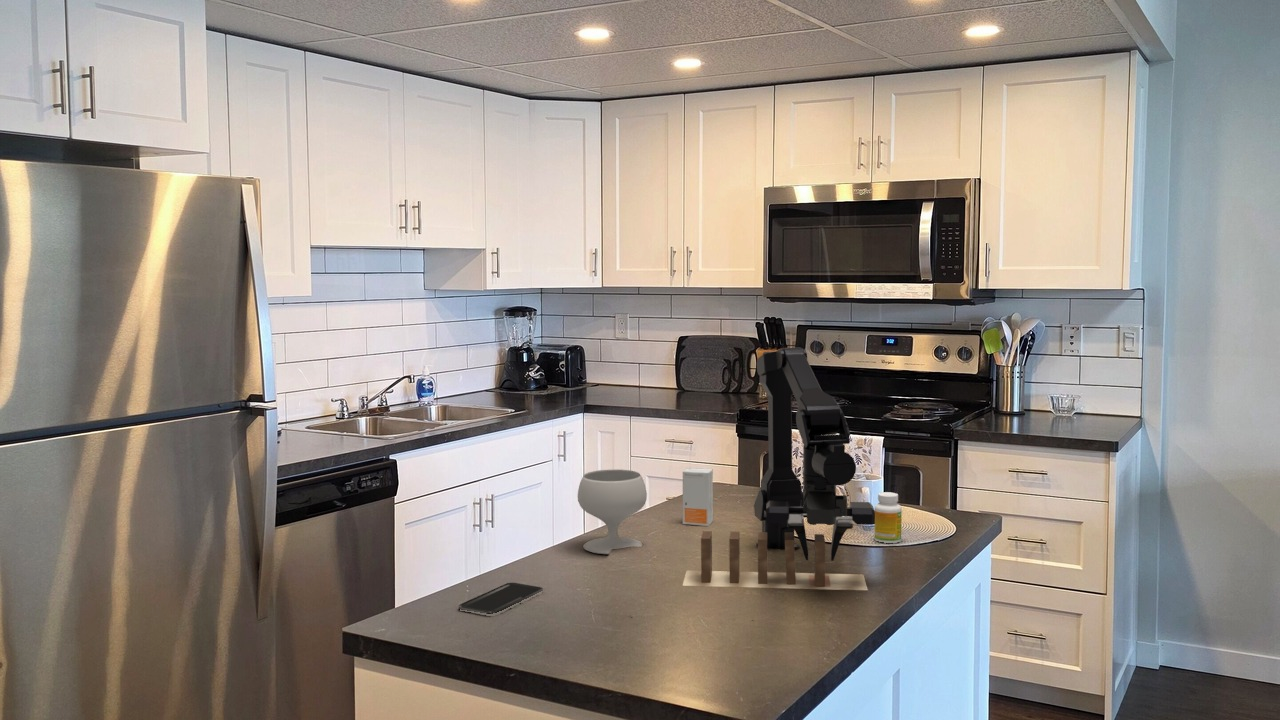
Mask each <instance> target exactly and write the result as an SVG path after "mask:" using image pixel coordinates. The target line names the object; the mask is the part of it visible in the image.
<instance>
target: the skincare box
mask: <svg viewBox="0 0 1280 720" xmlns="http://www.w3.org/2000/svg"><path fill="white" fill-rule="evenodd" d="M713 475H714V470H713V469H712V468H692V467H686V469H684V470H683V471H682V525H692V526H700V527H701V526H704V527H709V526H710V525H711V524H712V523H713V520H714V517H713V516H714V513H713V509H714V508H713V507H714V504H713V503H714V498H713V491H714V490H713V489H714V487H713V486H714V485H713V484H714V482H713V479H714V476H713Z"/></svg>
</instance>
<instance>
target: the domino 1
mask: <svg viewBox="0 0 1280 720" xmlns="http://www.w3.org/2000/svg"><path fill="white" fill-rule="evenodd" d="M712 532H713V531H711V530H708V531H707V530H704V531H703V530H702V534H701V537H700V558H701V559H700V560H701V561H700V562H701V563H700V571H701V583H710V582H711V577H712V571H713V554H712V553H713V541H712V539H713V535H712V534H713V533H712Z"/></svg>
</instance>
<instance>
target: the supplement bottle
mask: <svg viewBox="0 0 1280 720" xmlns="http://www.w3.org/2000/svg"><path fill="white" fill-rule="evenodd" d="M877 500H878V503H876V504H875V506H874V510H875V524H874V534H873V535H874V540H875V541H876V542H877V541H879V542H878V543H880V542H884V543H883V544H886V543H893V544H898V543H897V542H899V543H901V541H902V520H903V519H902V516H903V515H902V512H903V511H902V506H901V505H900V504H898V502H899V494H898V493H897V492H896V493H895V492H890V491H889V492H888V491H885V492H884V491H883V492H879V493H878V494H877Z"/></svg>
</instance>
